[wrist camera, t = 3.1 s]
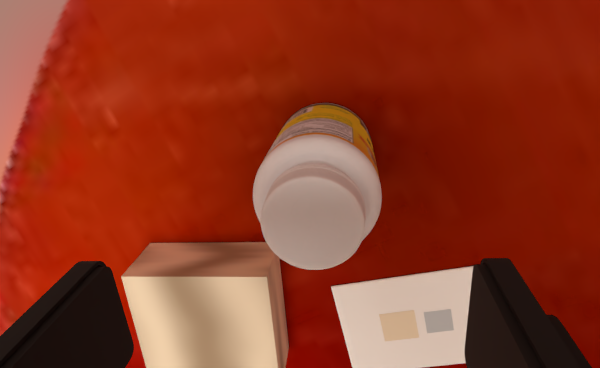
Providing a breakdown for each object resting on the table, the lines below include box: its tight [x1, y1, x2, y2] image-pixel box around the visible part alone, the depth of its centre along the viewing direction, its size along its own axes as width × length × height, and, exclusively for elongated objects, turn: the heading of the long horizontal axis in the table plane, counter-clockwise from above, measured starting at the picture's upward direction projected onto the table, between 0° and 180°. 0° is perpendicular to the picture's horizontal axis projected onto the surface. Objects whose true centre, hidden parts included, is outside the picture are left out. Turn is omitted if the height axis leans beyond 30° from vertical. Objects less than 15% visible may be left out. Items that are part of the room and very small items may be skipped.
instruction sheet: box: [331, 266, 474, 368], centre depth 29 cm, size 11×8×1 cm
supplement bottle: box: [253, 103, 382, 270], centre depth 20 cm, size 6×6×10 cm
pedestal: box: [121, 242, 289, 368], centre depth 28 cm, size 9×9×4 cm
